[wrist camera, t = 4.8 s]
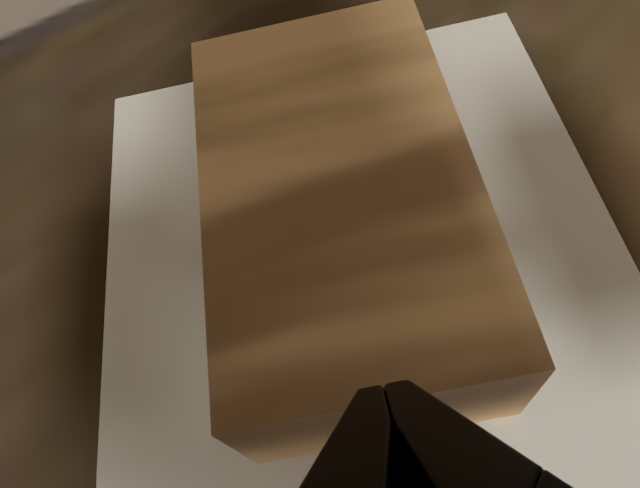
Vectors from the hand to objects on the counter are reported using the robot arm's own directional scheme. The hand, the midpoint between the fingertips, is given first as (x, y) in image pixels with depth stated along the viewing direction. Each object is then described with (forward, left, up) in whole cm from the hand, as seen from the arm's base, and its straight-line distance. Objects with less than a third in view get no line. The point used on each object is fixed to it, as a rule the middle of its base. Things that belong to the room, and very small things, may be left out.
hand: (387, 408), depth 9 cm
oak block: (+1, 0, -4) cm, 4 cm away
